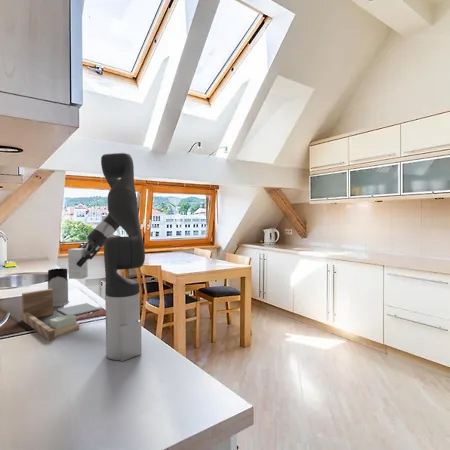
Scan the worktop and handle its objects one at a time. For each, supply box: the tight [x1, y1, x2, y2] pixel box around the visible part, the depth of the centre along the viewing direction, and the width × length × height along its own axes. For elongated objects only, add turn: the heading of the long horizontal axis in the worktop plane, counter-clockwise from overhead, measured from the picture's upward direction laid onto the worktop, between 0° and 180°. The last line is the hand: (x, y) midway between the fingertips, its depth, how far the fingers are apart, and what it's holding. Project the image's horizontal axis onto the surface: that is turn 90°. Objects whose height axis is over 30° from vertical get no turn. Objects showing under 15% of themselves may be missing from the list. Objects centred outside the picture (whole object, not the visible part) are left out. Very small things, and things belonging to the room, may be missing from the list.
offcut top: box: [49, 314, 77, 329], centre depth 107 cm, size 4×7×2 cm, turn 148°
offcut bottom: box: [48, 321, 80, 337], centre depth 107 cm, size 5×8×2 cm, turn 141°
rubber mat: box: [57, 302, 100, 317], centre depth 130 cm, size 12×12×1 cm
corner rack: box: [21, 288, 55, 342], centre depth 112 cm, size 28×10×10 cm, turn 47°
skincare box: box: [67, 247, 89, 280], centre depth 129 cm, size 6×4×12 cm
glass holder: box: [47, 268, 70, 307], centre depth 141 cm, size 9×14×15 cm, turn 28°
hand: (74, 264), depth 128 cm, fingers closed on skincare box, 7 cm apart
